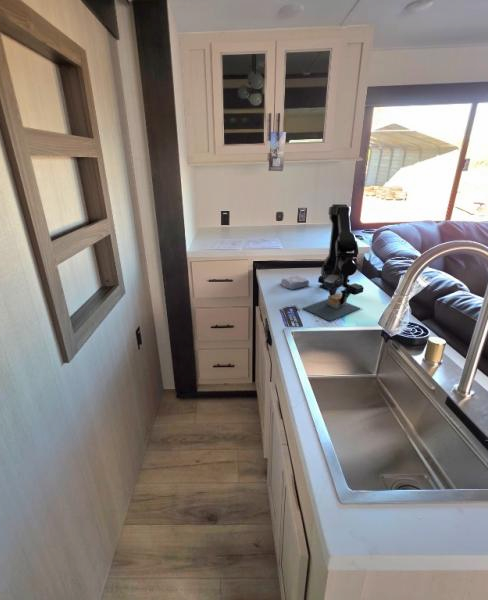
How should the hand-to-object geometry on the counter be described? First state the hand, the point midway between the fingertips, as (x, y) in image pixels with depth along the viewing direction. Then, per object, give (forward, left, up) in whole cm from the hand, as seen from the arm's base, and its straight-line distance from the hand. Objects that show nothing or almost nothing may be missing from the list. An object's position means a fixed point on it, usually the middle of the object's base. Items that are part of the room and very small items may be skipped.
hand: (337, 302), depth 136 cm
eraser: (0, 0, -1) cm, 1 cm away
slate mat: (+5, +1, -1) cm, 5 cm away
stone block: (-3, -28, -2) cm, 28 cm away
